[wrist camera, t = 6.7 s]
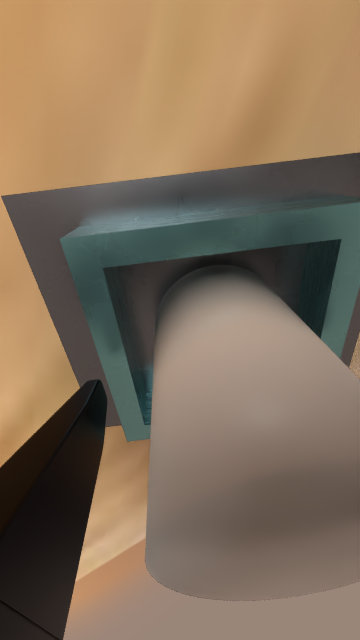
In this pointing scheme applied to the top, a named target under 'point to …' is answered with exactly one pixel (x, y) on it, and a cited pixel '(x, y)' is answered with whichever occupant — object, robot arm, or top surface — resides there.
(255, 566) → the grey rounded block
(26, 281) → the top surface
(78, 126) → the top surface
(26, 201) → the teal-collared square flange
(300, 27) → the top surface
